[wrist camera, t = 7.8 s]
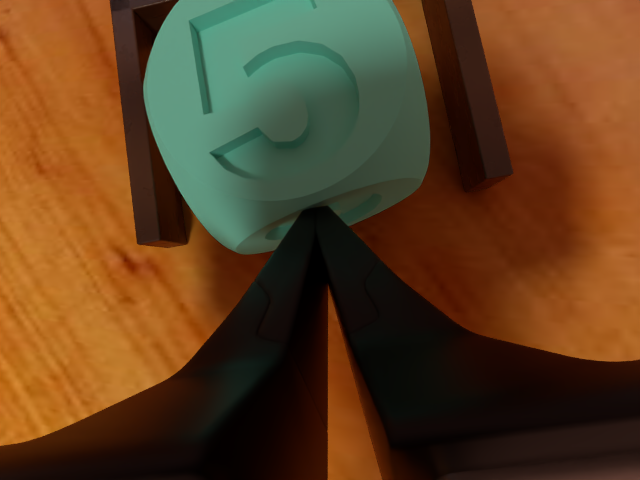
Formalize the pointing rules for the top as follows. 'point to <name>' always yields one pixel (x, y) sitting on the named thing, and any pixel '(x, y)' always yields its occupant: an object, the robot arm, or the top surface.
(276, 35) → the decorative dice
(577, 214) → the top surface
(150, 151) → the walnut frame
